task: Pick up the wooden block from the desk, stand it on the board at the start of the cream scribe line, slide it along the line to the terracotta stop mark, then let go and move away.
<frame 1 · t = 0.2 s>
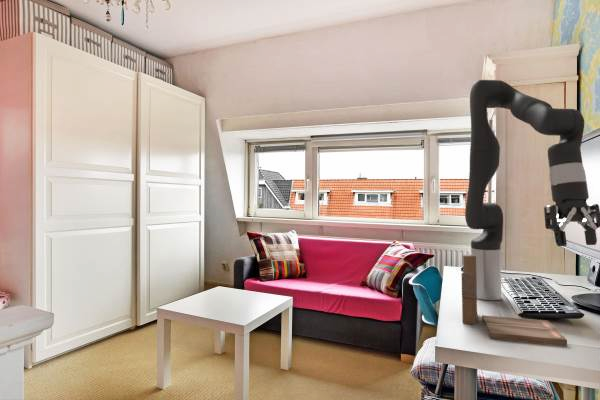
hand: (576, 245, 91), 23 cm above the table, tool pointing down, fingers open, 8 cm apart
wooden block: (470, 319, 104), on the table
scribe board: (520, 332, 93), on the table
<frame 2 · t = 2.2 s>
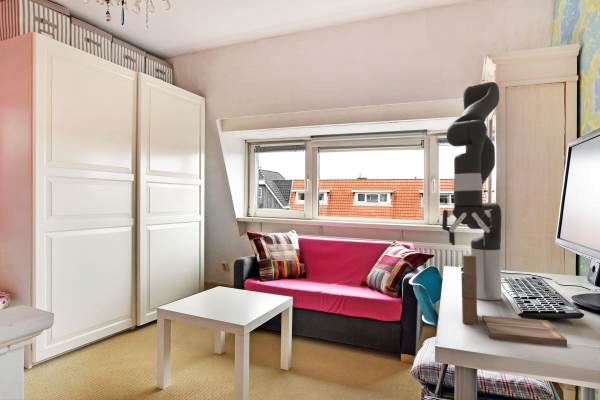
hand: (469, 245, 104), 21 cm above the table, tool pointing down, fingers open, 8 cm apart
nothing on the table moved.
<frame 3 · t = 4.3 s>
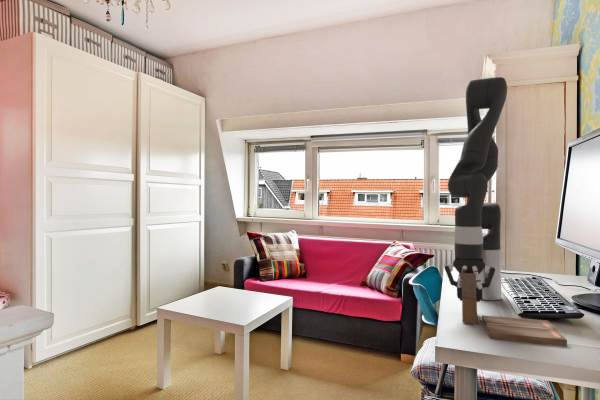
hand: (469, 300, 104), 5 cm above the table, tool pointing down, fingers closed on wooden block, 4 cm apart
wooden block: (470, 319, 104), on the table, touching gripper
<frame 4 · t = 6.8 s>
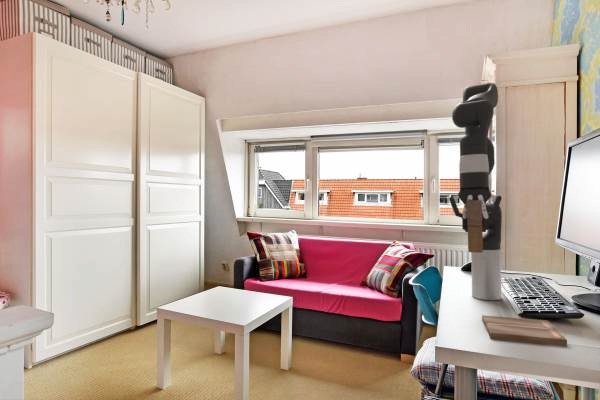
hand: (475, 231, 102), 25 cm above the table, tool pointing down, fingers closed on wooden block, 4 cm apart
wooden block: (475, 250, 101), point 20 cm above the table, touching gripper
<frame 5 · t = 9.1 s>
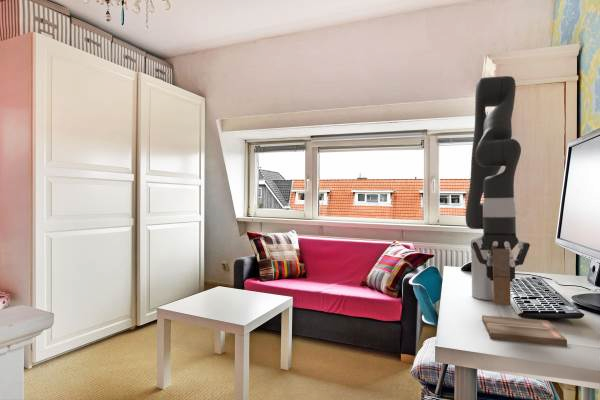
hand: (500, 280, 94), 13 cm above the table, tool pointing down, fingers closed on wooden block, 4 cm apart
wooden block: (501, 300, 94), point 8 cm above the table, touching gripper
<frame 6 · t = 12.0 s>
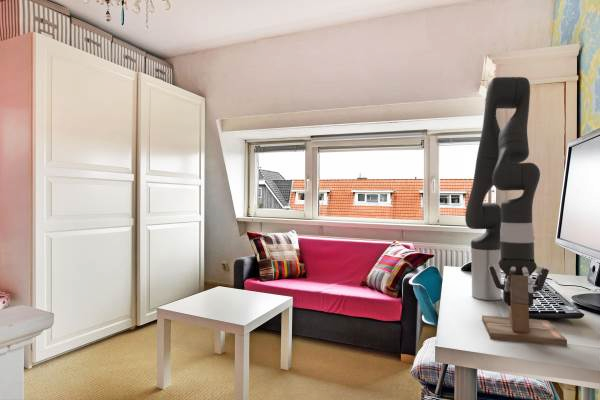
hand: (517, 305, 93), 7 cm above the table, tool pointing down, fingers closed on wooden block, 4 cm apart
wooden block: (518, 326, 93), point 1 cm above the table, touching gripper
when the fingers open (7 cm above the table, at t = 14.0 s): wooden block stays where it is, resting on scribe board.
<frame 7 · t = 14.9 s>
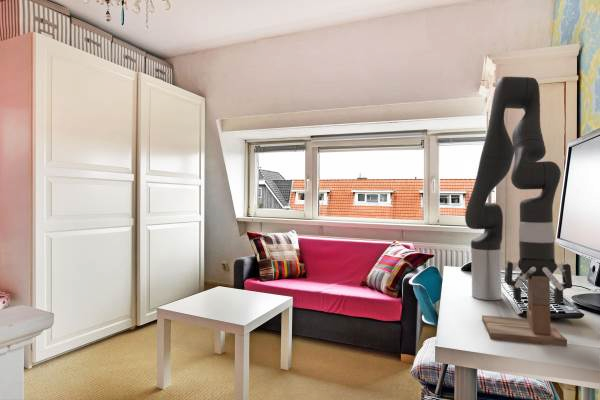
hand: (537, 302, 91), 8 cm above the table, tool pointing down, fingers open, 8 cm apart
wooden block: (538, 328, 91), point 1 cm above the table, touching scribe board
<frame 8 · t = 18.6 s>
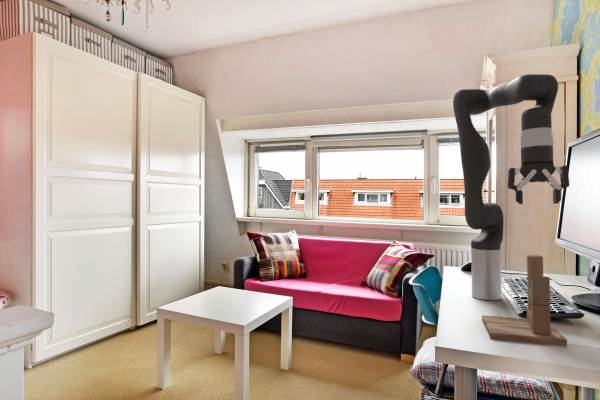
hand: (537, 203, 100), 33 cm above the table, tool pointing down, fingers open, 8 cm apart
nothing on the table moved.
at the end: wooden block 0.3 cm from the target spot, point 1.3 cm above the table; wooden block tilted 0°; the gripper is holding nothing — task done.
